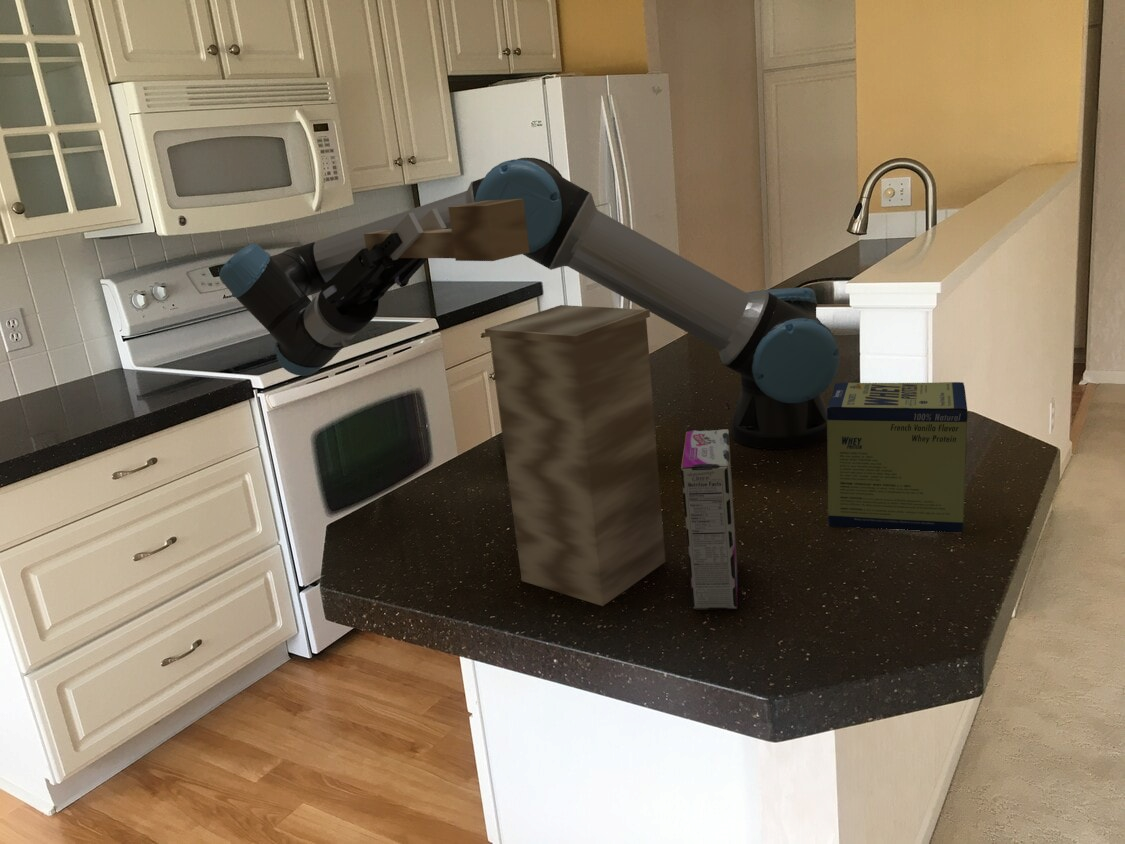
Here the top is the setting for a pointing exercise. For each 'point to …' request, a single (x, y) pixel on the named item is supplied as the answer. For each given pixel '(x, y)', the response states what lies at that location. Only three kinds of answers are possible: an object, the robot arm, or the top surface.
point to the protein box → (897, 456)
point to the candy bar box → (710, 519)
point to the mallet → (471, 233)
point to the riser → (580, 448)
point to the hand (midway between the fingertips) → (427, 220)
